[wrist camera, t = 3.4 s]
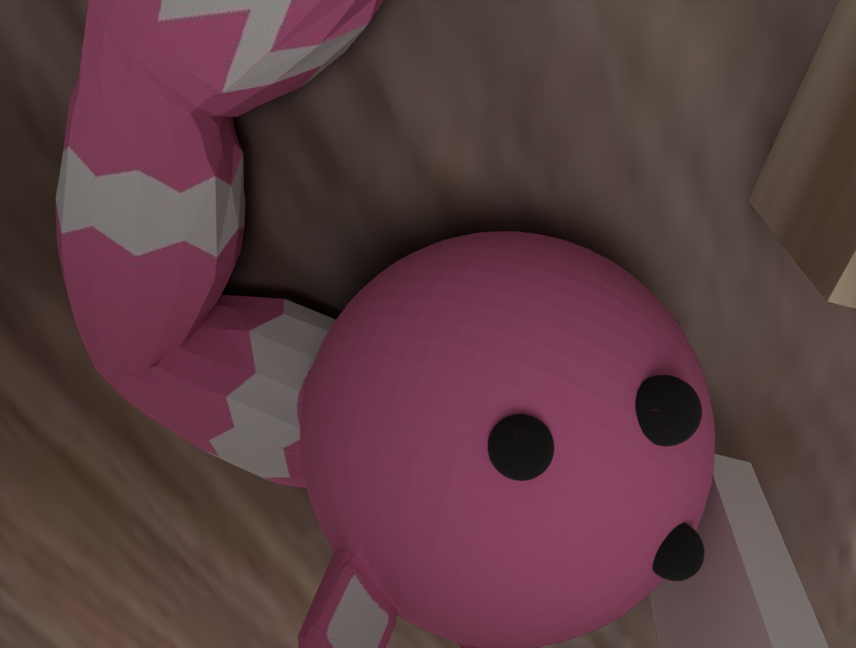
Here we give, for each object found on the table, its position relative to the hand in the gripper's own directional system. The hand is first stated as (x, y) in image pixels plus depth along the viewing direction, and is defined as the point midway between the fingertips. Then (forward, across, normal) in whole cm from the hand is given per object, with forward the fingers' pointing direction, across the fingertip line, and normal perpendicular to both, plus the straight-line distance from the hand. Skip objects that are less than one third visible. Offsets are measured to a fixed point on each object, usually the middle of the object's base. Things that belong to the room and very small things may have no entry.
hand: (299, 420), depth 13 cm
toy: (+3, +1, +3) cm, 4 cm away
